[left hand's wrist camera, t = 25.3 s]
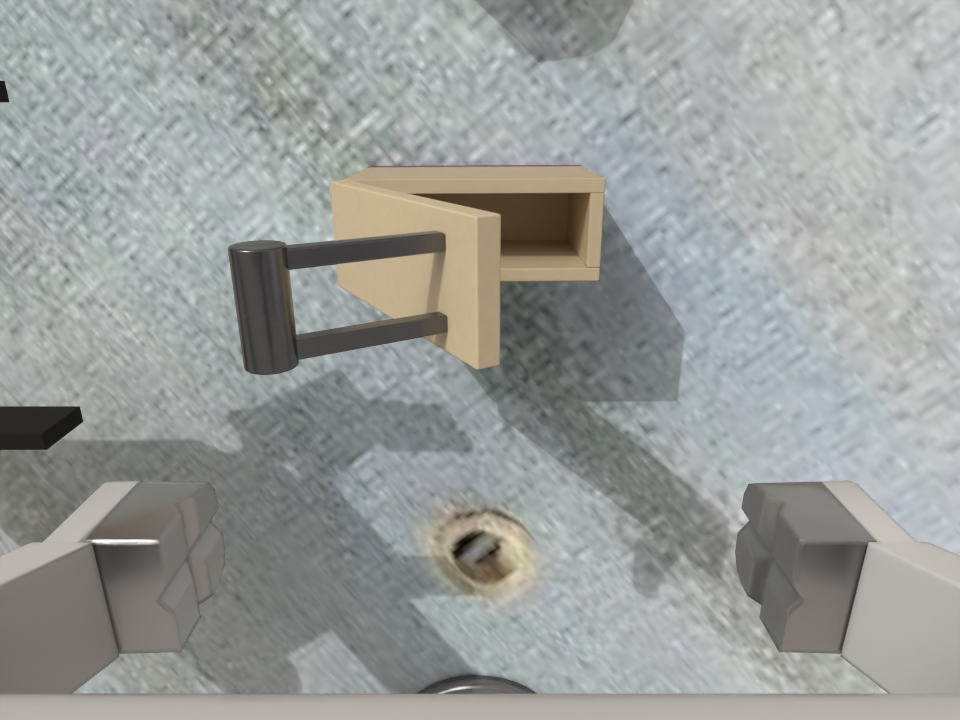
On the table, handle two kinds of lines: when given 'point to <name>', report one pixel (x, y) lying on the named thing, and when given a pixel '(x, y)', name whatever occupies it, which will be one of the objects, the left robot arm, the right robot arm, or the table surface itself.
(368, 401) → the table surface
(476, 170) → the chest
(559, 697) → the left robot arm
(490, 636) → the table surface
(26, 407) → the right robot arm
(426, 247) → the lid
